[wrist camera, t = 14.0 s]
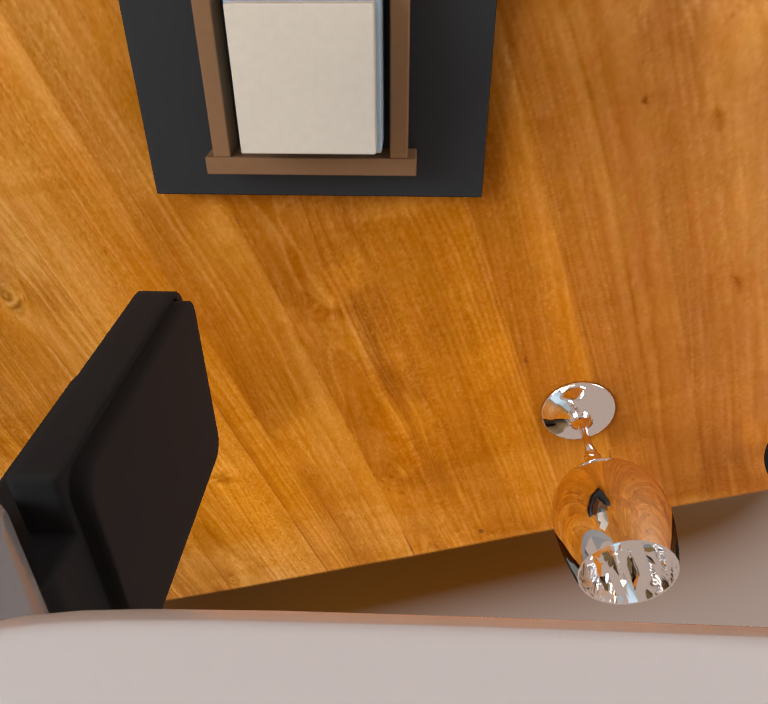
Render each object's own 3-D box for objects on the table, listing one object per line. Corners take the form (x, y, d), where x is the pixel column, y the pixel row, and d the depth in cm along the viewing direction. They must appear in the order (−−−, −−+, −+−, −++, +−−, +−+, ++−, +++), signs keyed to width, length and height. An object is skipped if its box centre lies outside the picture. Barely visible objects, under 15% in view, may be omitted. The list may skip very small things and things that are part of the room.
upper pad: (256, 130, 32) (236, 158, 28) (240, -15, 28) (216, -3, 25) (384, 131, 31) (380, 159, 28) (384, -16, 28) (379, -3, 25)
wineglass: (518, 438, 43) (548, 602, 33) (547, 365, 40) (589, 522, 30) (606, 452, 43) (662, 619, 33) (641, 381, 40) (714, 542, 30)
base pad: (164, 185, 35) (146, 206, 32) (109, -97, 28) (81, -97, 25) (479, 189, 34) (484, 210, 32) (501, -100, 27) (509, -99, 25)
